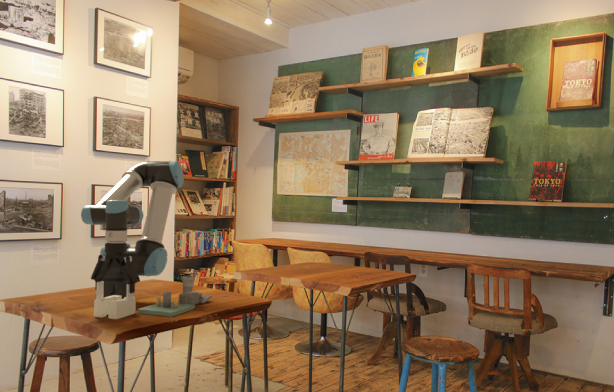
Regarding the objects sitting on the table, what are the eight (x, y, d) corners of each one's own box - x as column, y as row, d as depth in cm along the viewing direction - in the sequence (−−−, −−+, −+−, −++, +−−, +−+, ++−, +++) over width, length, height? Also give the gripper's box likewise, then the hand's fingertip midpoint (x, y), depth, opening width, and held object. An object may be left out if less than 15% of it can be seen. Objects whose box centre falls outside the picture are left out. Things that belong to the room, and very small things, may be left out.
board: (137, 313, 184) (137, 294, 184) (162, 305, 198) (162, 287, 198) (171, 316, 179) (171, 297, 179) (194, 308, 193) (195, 290, 193)
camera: (173, 276, 197) (195, 272, 211) (173, 306, 197) (194, 300, 211) (192, 278, 194) (213, 273, 208) (191, 308, 194) (212, 301, 208)
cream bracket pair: (116, 319, 175) (116, 302, 175) (93, 316, 178) (94, 299, 178) (135, 313, 184) (135, 297, 184) (113, 310, 188) (114, 295, 188)
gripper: (81, 241, 182) (79, 299, 181) (137, 244, 173) (135, 305, 173) (96, 240, 189) (95, 296, 188) (150, 242, 180) (149, 301, 180)
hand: (114, 300), depth 181 cm, fingers open, 13 cm apart
